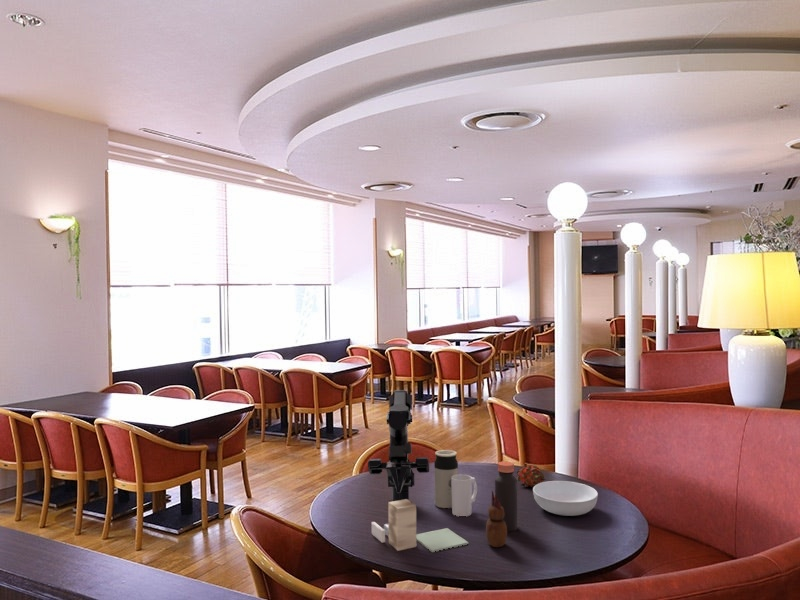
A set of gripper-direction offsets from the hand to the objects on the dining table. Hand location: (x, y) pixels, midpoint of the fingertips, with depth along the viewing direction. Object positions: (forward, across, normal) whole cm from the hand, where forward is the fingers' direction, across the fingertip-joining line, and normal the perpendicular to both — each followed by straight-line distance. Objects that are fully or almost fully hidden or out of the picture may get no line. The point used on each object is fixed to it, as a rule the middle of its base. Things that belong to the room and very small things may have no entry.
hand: (398, 492), depth 188 cm
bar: (+11, -2, +7) cm, 13 cm away
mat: (+13, +12, +5) cm, 18 cm away
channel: (+10, -3, +7) cm, 13 cm away
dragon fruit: (-18, +46, +46) cm, 67 cm away
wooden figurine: (+15, +28, +4) cm, 32 cm away
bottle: (+7, +32, +14) cm, 36 cm away
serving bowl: (-2, +53, +26) cm, 59 cm away
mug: (-1, +20, +23) cm, 31 cm away
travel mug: (-6, +14, +28) cm, 32 cm away
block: (+15, +1, +2) cm, 15 cm away
